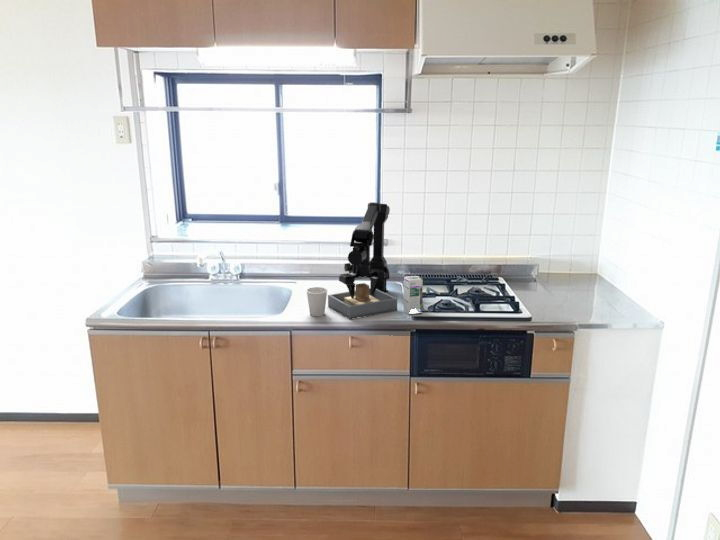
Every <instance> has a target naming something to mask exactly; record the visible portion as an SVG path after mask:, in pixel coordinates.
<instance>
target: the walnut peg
mask: <svg viewBox="0 0 720 540" xmlns="http://www.w3.org/2000/svg"><path fill="white" fill-rule="evenodd" d="M369 288H370V284H367V283H366V282H363V283H355V290H356V300H357V301H359V302H363V301H369Z"/></svg>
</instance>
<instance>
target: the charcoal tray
mask: <svg viewBox="0 0 720 540" xmlns="http://www.w3.org/2000/svg"><path fill="white" fill-rule="evenodd" d="M369 295H371V288H370V287H369ZM350 296H351V295H350V292H349V291H344V292H339V293H338V292H337V293H333V294H327V306H328V308H329V309H331V310H333V311H334V312H336V313H338V314H340V315H341V316H343V317H345V318H346V317H347V318H346V319H348V318H349V319H348V320H350V319H351V320H353V319H352V318H356V319H358V318H357V317H361V318H364V316H366V317H370V316H369V315H371V316H375V314H376V315H380V313H381V314H386V313H390V312H396V311H398V298H397V297H395V296H393V295H391V294H389V293H387V292H382V291H380V290H378V289H376V290H375V292H374V294H373V295H371V296H373V297H375V298H377V299H379V300H381V301H377V302H371V303H366V304H360V305H355V306H350V305H348V304H346V303H344V298H345V297H350ZM354 296H356V289H355V293H354Z"/></svg>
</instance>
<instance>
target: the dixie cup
mask: <svg viewBox="0 0 720 540" xmlns="http://www.w3.org/2000/svg"><path fill="white" fill-rule="evenodd" d="M305 292H306V295H307V296H306V297H307V303H308V308H309V309H308V310H309V316H311V315H312V316H311V317H315V316H318V317H323V316H325V314H326V313H325V311H326V303H327V301H326V300H327V297H328V289H327V288H325V287H321V286H312V287H308V288H307V289H306V290H305ZM322 315H323V316H322Z"/></svg>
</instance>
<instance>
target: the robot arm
mask: <svg viewBox="0 0 720 540" xmlns="http://www.w3.org/2000/svg"><path fill="white" fill-rule="evenodd" d="M389 215H390V206H389V205H388V204H387V203H380V202H368V203H367V209H366V211H365V213H364V216H363V219H362V221H361V223H359V224H357V225H356V226H355V228H354V230H353V231H352V235H351V239H350V244H349V246H350V247H352V250H350V252H349V253H348V254H347V255H348V256H347V260H348V263H344V267H343V269H344V272H347V273H341V274H340V275H339V277H338V281H339V282H340V283H342V284H344V285H345V286H346V287H347V290H348V292H350V295H351V298H352V299H354V293H355V290H356V283H355V281H357V280H362V279H369V280H370V284H369V288H371V295H373V294H374V292H375V290H376V289H378V290H380V291H382V292H384V293H388V292H389V290H388V289H387V282H388V281H387V280H390V277H391V274H390V270H389V267H388V262H387V260H386V258H385V257H384V246H385V245H384V242H385V224H386V222H387V220H388V218H389ZM372 245H373V246H372ZM371 246H372V248H373V250H372V255H373V256H372V258H371ZM370 259H371V260H370Z"/></svg>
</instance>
